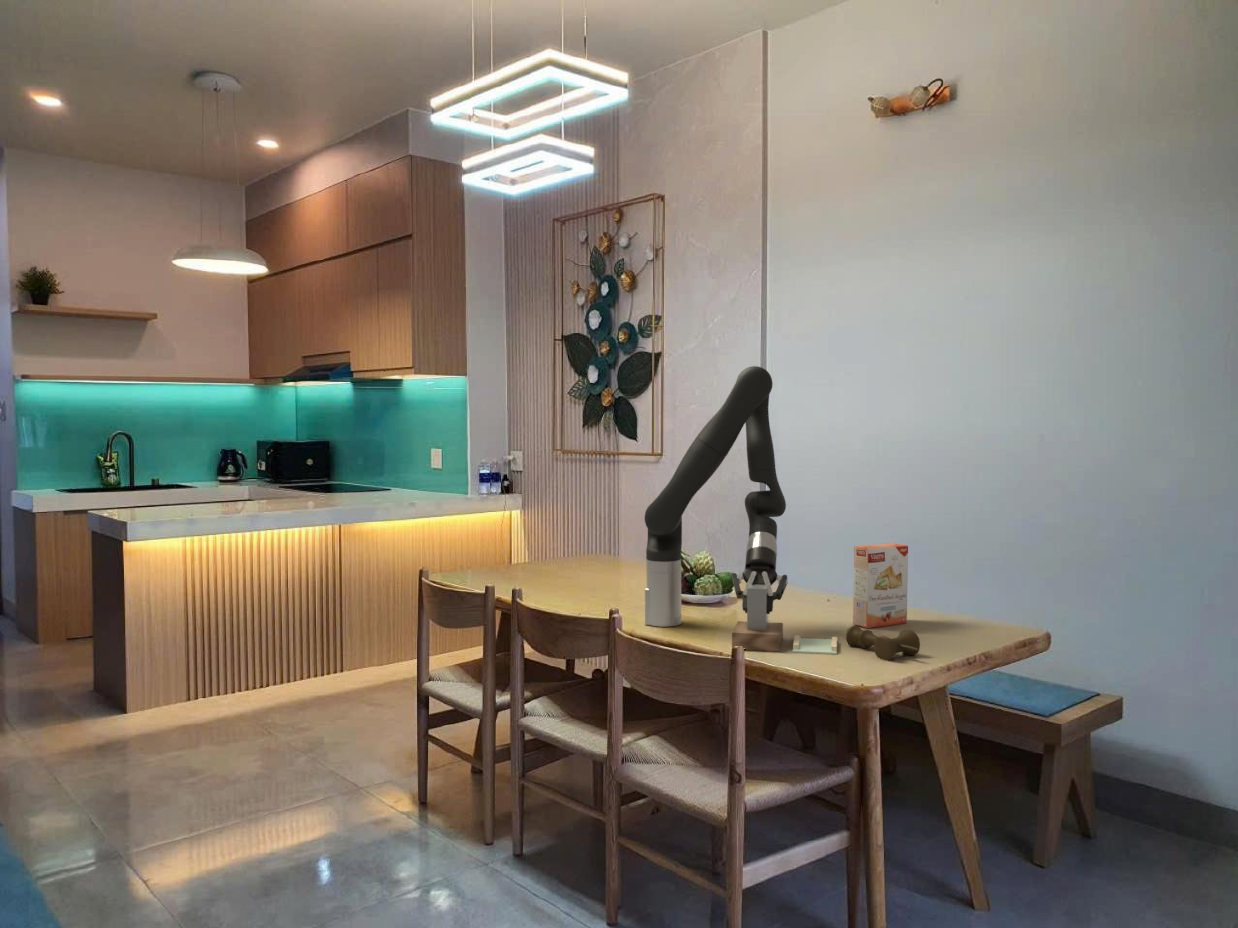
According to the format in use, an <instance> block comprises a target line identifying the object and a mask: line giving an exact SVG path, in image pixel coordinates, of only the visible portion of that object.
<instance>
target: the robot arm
mask: <svg viewBox="0 0 1238 928" xmlns="http://www.w3.org/2000/svg"><path fill="white" fill-rule="evenodd" d="M773 385H774V384H773V379H772V375H771V374H770V372H768V370H767V369H766V368H763V367H761V366H757V365H753V366H748V367H746V368H744V369H743V370H742V371H741V372H740V373H739V375H738V376H737V379H736V380H735V383H734V385H733V387H732V389H731V390H730V393H729V394H728V396H727V398H726V399H725V401H724V403H723V404H722V405H721V407H720V409H718V410H717V412H716V413H715V414H714V415H713V416H712V417H711V418H710V419H709V420H708V422H707V423H706V424H705V425H704V426H703V427H702V429H701V430H700V432H699V433H698V434H697V435H696V437H695V438H694V440H693V441H692V443H691V444H690V446H689V447H688V449H687V450H686V452H685V453H684V455H683V457H682V459H681V460H680V462H679V464H678V466H677V468H676V469H675V472H674V473H673V475H672V477H671V479H670V480H669V482H668V483H667V484H666V486H665V487H664V488H663V489H662V491H661V492H660V493H659V494H658V496H657V497H656V498H655V499H654V500H652V502H651V503H650V504H649V505H648V506H647V507H646V509H645V513H644V523H645V527H646V528H647V541H646V542H647V543H646V544H647V545H646V549H645V550H646V551H645V552H646V554H645V557H646V564H645V565H646V588H645V589H644V626H645V625H647V626H651V627H652V626H653V627H661V628H662V627H665V628H666V627H676V626H679V625H681V624H682V615H683V614H682V547H683V541H682V540H683V538H682V537H683V532H682V531H683V517H682V516H683V514H684V513H685V511H686V509H687V507H688V505H689V504H690V502H691V501H692V500H693V498H694V496H696V494H697V492H698V491H699V490H701V488H702V487H703V486H704V485H705V484H706V483H707V482H708V481H709V479H710V478H711V477H712V476H713V475H714V473H716V471H717V470H718V468H719V467H720V466H721V465H722V463H723V461H724V460H725V458H726V457H727V456H728V454H729V452H730V451H731V449H732V447H733V446H734V444H735V443H736V441H737V439H738V437H739V435H740V432H741V431H742V430H743V427H744V425H745V433H746V457H747V459H746V461H747V468H748V469H747V470H748V476H749V479H750V481H751V482H753V483H759V484H764V485H765V486H767V488H768V489H769V490H755V491H750V492H749V493H747V495H746V496H745V499H744V507H745V511H746V514H747V515H746V516H747V518H748V524H749V526H748V527H749V529H748V530H749V531H748V540H747V544H746V554H745V562H744V563H745V564H744V565H745V566H744V570H743V571H742V573H741V574H737V573H732V574H731V578H732V584H733V588H734V592H735V595H736V596H735V597H736V598H737V599H741V600H742V605H741V606H742V610H743V612H745V614H747V588H748V586H749V585H766V586H768V597H767V614H768V615H770V613H772V612H773V609H774V601H775V600H778V601H780V600H781V599H782V598H783V595H784V593H785V590H786V587H787V586H788V583H789V582H788V575H787V574H783V575H780V574H778V573H777V571H776V570H777V556H778V545H777V536H778V535H777V534H778V524H777V522H776V521H775V519H773V518H778V517H781V516H783V514H784V513H785V512H786V508H787V503H786V499H785V496H784V494H783V491H782V489H781V486H780V482H779V479H778V476H777V470H776V460H775V450H774V442H773V437H772V433H771V424H770V415H769V405H770V404H769V403H770V402H769V401H770V394H771V392H772V389H773ZM742 581H744V582H745V583H746V585H745V588H744V590H741V586H740V584H741V583H742ZM776 581H777V584H778V585H777V588H776V589H775V591H774V592H773V588H772V585H773V584H774V583H776Z"/></svg>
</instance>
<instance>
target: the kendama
mask: <svg viewBox="0 0 1238 928" xmlns="http://www.w3.org/2000/svg"><path fill="white" fill-rule="evenodd" d="M845 639H846V643H847V645H848V646H849V647H858V646H861V648H863V649H869V648H871V647H873V649H874V654H875V656H876V657H877V658H878V659H879V658H880V660H883V661H887V660H888V661H890V660H892V659H893V658H894V655H896V654H898V653H903V654H905V655H908V656H915V655H917V654H919V651H920V649H921V648H920V647H921V643H920V638H919V636H918V634H917V633H916V632H915V631H914V630H912V629H903V630H901V631H900V633H899V634H898V636H897V637H893V638H890V637H888V636H885V635H879V636H878V635H875V634H874V632H873V631H872V630H870V629H864V630H862V628H861V626H858V625H852V626H850V627H848V629H847V631H846V635H845Z"/></svg>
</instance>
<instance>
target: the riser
mask: <svg viewBox="0 0 1238 928" xmlns="http://www.w3.org/2000/svg"><path fill="white" fill-rule="evenodd" d="M783 641H784V623H783V622H770V621H768V628H767V631H758V630H747V621H742V620H741V621H740V620H738V621H737V623H736V625H735V626H734V628H733V630H732V632H731V649H732V648H733V647H734V646H742V647H743V648H745V649H746V650H745V651H752V650H767V651H766V652H773V651H779V652H780V650H781V648H782V644H783Z"/></svg>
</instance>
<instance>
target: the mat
mask: <svg viewBox="0 0 1238 928" xmlns="http://www.w3.org/2000/svg"><path fill="white" fill-rule="evenodd" d="M795 652H796V653H797V654H798V653H800V654H816V653H819V654H820V655H838V637H837V636H831V638H830V639H825V638H807V637H806V638H803V637H802V638H801V635H798V634H797V635H794V638H793V643H792V653H795Z"/></svg>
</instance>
